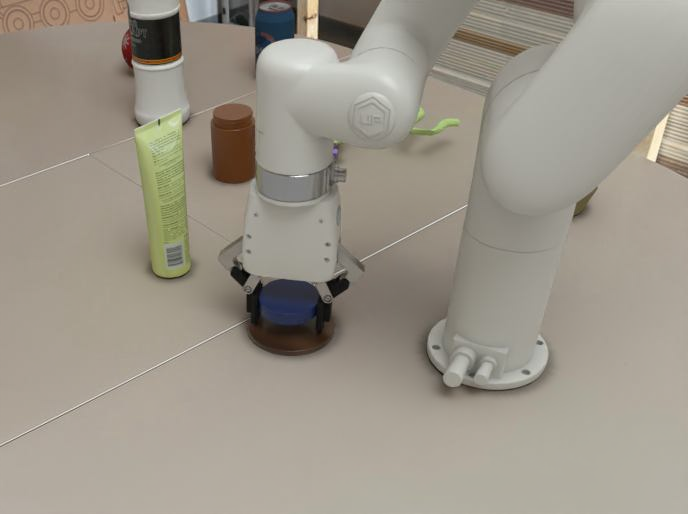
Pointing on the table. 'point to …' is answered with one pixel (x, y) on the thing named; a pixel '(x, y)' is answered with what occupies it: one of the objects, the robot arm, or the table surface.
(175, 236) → the tube
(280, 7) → the soda can
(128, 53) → the christmas ornament
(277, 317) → the jar lid
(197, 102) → the table surface
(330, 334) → the coaster
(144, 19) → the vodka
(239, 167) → the jam jar
